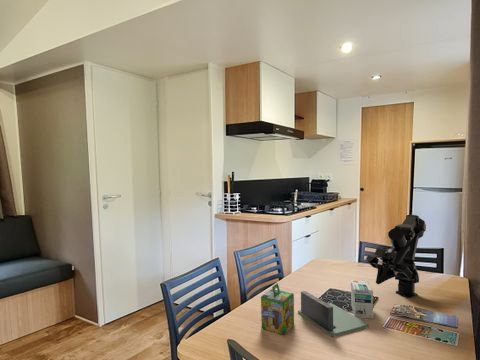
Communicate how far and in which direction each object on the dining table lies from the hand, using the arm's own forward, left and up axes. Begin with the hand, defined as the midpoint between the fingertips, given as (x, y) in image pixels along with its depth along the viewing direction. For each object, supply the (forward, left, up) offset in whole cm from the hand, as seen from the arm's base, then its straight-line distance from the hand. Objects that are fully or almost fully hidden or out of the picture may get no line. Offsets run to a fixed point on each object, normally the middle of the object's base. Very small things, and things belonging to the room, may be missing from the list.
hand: (377, 283), depth 127 cm
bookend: (+29, 0, -9) cm, 30 cm away
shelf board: (+23, 0, -10) cm, 25 cm away
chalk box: (+43, -4, -10) cm, 44 cm away
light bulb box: (+8, 0, -10) cm, 13 cm away
